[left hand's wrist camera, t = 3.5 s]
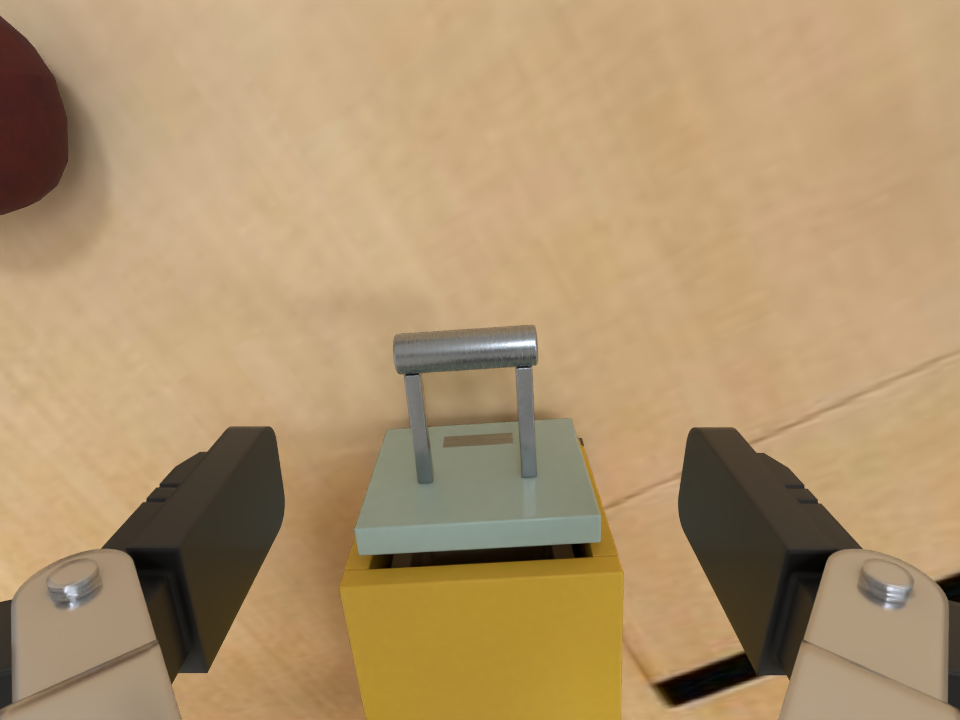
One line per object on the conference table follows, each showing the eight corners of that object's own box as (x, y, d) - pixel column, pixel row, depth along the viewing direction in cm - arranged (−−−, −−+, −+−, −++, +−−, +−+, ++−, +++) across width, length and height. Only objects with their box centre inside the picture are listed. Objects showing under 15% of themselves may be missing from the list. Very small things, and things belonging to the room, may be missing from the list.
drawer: (368, 303, 25) (323, 368, 18) (568, 289, 25) (601, 350, 18) (424, 682, 34) (408, 828, 27) (576, 675, 33) (601, 820, 26)
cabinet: (381, 450, 29) (337, 587, 20) (581, 438, 29) (624, 572, 20) (421, 704, 36) (400, 892, 27) (584, 696, 35) (618, 884, 26)
